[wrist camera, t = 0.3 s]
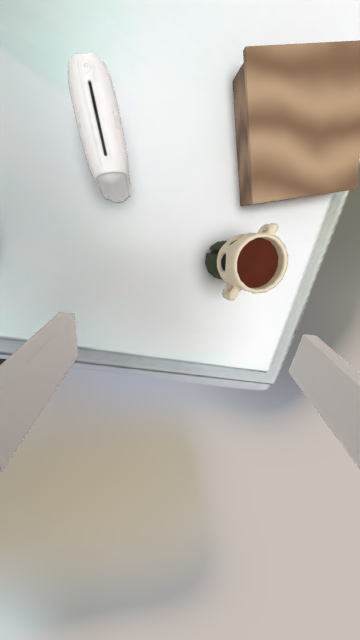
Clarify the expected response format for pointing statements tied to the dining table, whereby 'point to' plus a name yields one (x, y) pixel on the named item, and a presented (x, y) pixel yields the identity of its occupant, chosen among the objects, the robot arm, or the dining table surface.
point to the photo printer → (99, 124)
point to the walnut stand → (297, 120)
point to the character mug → (249, 262)
